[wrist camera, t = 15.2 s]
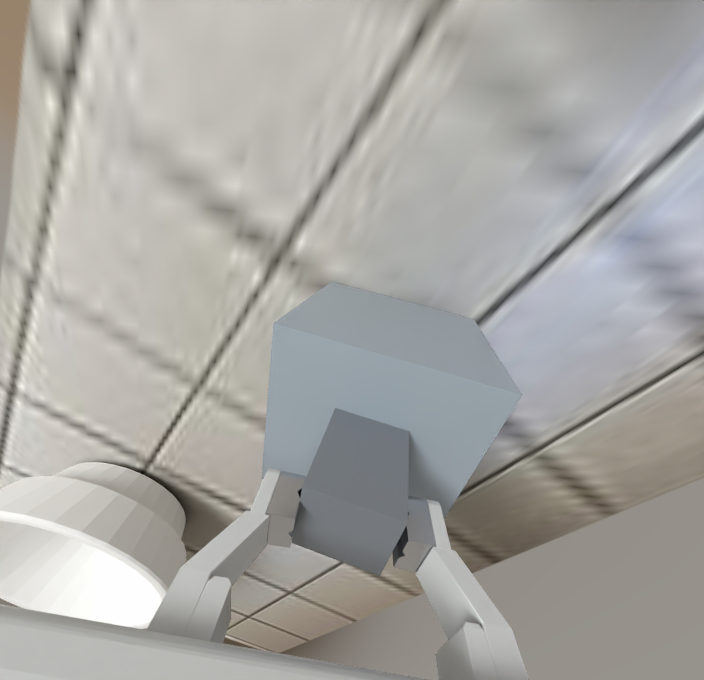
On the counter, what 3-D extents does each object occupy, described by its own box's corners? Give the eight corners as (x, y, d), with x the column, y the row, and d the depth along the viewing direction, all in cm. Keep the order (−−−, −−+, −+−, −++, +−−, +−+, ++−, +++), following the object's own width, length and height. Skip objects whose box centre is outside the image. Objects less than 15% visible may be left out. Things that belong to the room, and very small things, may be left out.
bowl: (183, 564, 39) (139, 646, 32) (27, 502, 35) (-68, 581, 27) (246, 494, 31) (206, 585, 23) (48, 398, 26) (-83, 473, 19)
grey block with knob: (473, 318, 18) (585, 493, 6) (424, 427, 22) (437, 643, 11) (331, 281, 19) (204, 371, 7) (312, 392, 23) (215, 555, 12)
